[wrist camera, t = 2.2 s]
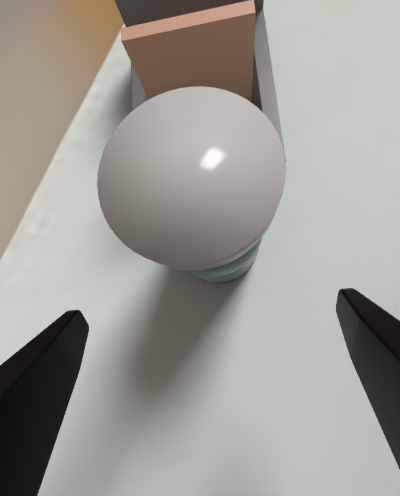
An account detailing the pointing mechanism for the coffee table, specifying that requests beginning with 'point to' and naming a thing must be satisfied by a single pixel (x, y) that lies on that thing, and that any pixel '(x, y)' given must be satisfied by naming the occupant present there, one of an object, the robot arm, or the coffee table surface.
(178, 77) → the pusher plate
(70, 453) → the coffee table surface
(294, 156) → the coffee table surface
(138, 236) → the jar
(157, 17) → the pusher lane
